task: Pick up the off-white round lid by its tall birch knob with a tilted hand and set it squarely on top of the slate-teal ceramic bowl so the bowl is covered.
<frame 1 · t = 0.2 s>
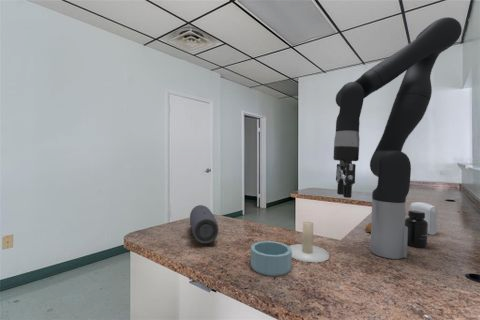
hand: (343, 195, 79), 18 cm above the table, tool pointing down, fingers open, 8 cm apart
bowl: (270, 266, 68), on the table
bluetooth speaker: (202, 236, 91), on the table
photo printer: (422, 231, 105), on the table
supplement bottle: (415, 245, 88), on the table
lid: (307, 254, 77), on the table
pastry: (375, 232, 103), on the table
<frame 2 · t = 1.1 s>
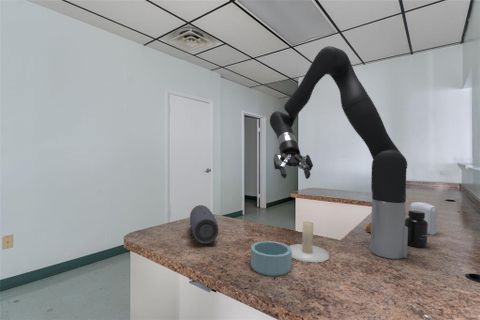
hand: (296, 177, 88), 23 cm above the table, tool tilted 45°, fingers open, 8 cm apart
nothing on the table moved.
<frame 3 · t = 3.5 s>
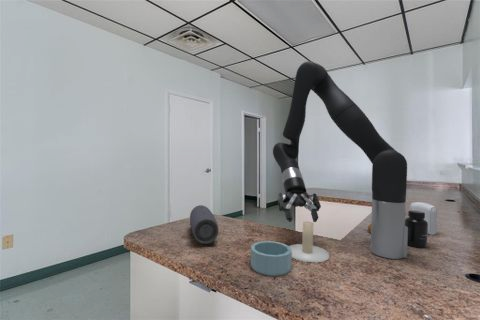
hand: (303, 220, 81), 9 cm above the table, tool tilted 45°, fingers open, 8 cm apart
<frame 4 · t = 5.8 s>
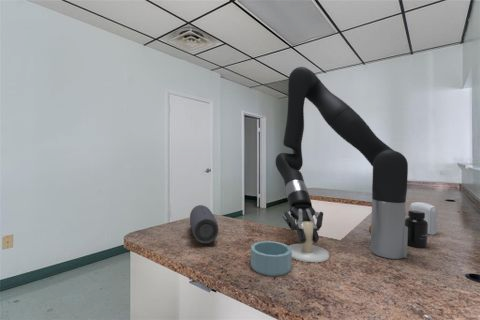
hand: (310, 241, 75), 5 cm above the table, tool tilted 45°, fingers closed on lid, 3 cm apart
lid: (307, 254, 77), on the table, touching gripper
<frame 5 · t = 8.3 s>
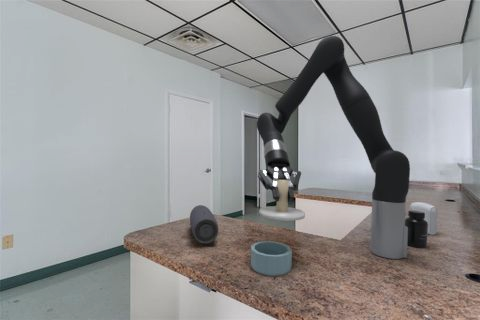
hand: (284, 199, 69), 18 cm above the table, tool tilted 45°, fingers closed on lid, 3 cm apart
lid: (281, 214, 71), point 14 cm above the table, touching gripper
when the fingers open (11 cm above the table, at t = 11.0 s): lid drops 1 cm, resting on bowl.
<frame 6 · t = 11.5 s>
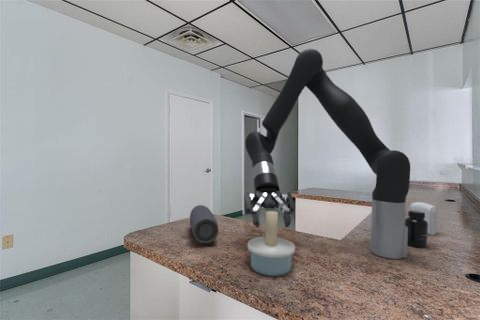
hand: (272, 225, 66), 12 cm above the table, tool tilted 45°, fingers open, 8 cm apart
lid: (270, 248, 68), point 5 cm above the table, touching bowl
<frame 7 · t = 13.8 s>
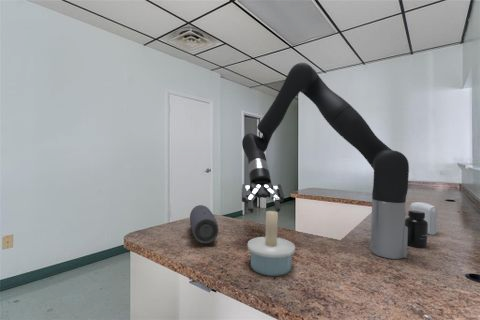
hand: (265, 211, 79), 12 cm above the table, tool tilted 45°, fingers open, 8 cm apart
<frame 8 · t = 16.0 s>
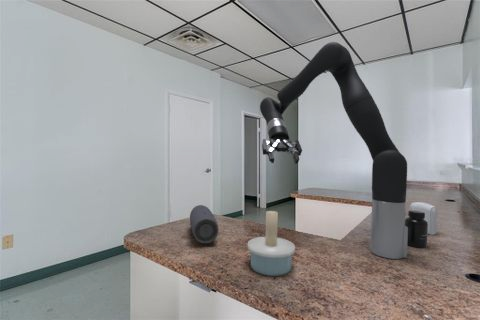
hand: (284, 161, 85), 29 cm above the table, tool tilted 45°, fingers open, 8 cm apart
at the end: lid 0.2 cm from the bowl (horizontally); lid point 5.0 cm above the table; lid tilted 0° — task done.
